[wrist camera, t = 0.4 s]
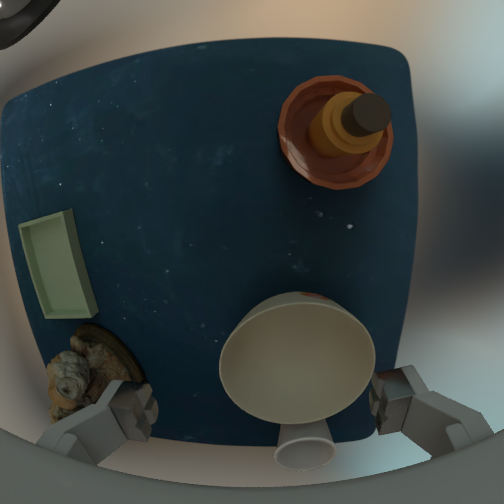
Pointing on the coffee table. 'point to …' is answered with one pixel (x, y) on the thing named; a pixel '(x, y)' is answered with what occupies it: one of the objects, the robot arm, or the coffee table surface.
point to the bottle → (348, 125)
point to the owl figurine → (88, 370)
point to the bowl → (297, 359)
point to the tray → (58, 266)
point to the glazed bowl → (300, 154)
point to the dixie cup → (305, 446)
